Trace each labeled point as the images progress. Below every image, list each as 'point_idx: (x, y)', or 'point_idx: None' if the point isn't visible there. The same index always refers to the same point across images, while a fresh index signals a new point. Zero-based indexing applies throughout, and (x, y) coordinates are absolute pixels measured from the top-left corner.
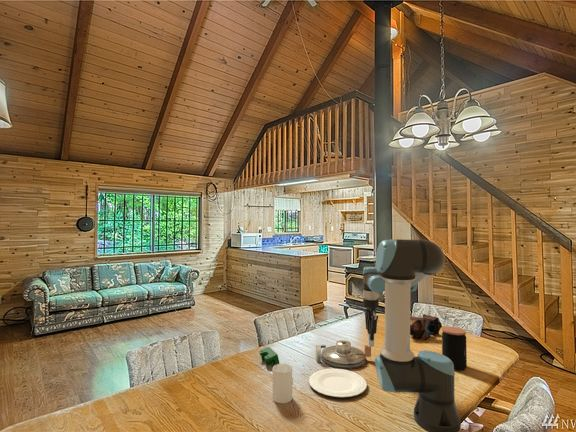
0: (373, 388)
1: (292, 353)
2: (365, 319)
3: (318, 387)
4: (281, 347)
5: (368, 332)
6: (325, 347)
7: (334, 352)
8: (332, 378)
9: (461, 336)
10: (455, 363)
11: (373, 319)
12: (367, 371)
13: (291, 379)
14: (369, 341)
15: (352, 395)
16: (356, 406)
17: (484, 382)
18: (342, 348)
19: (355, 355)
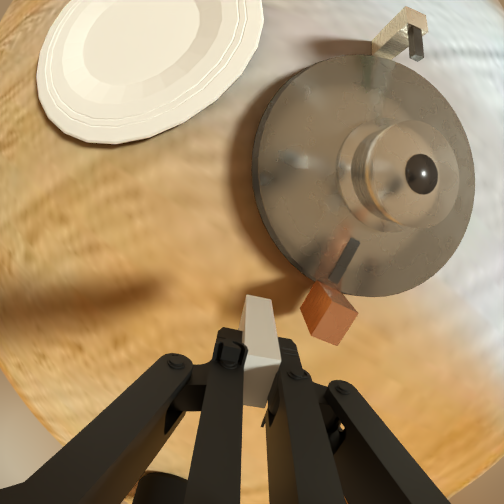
0: (65, 161)
1: (460, 25)
2: (409, 463)
3: None
4: (500, 34)
5: (235, 354)
6: (410, 55)
7: (399, 122)
8: (185, 23)
9: None
10: (138, 488)
11: (7, 496)
12: (201, 217)
13: None
14: (244, 317)
15: (39, 58)
16: (20, 66)
17: None
18: (374, 138)
19: (339, 226)
